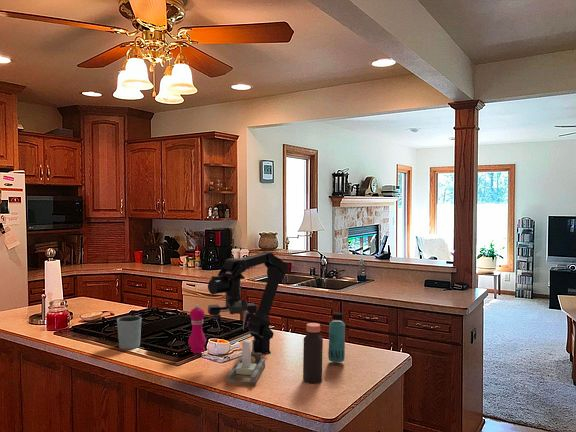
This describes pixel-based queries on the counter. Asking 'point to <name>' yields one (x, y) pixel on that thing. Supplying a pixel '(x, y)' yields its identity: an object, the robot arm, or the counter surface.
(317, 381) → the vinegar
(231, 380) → the base plate with post
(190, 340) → the pepper mill
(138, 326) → the drinking glass
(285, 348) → the counter surface
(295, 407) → the counter surface
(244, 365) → the press jaw
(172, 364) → the counter surface
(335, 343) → the beverage bottle
